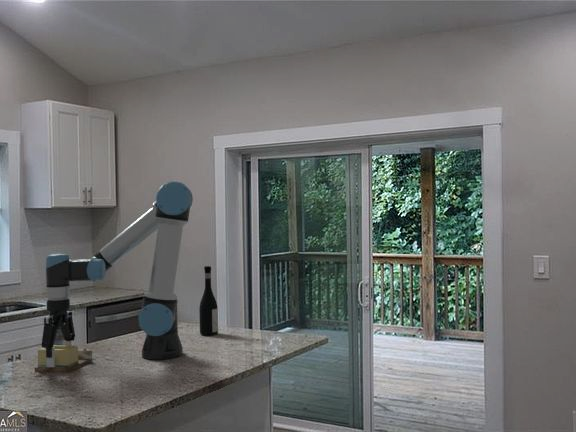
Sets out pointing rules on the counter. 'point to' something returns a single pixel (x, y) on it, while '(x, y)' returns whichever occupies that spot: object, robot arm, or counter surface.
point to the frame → (60, 356)
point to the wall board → (83, 359)
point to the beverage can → (59, 337)
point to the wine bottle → (208, 308)
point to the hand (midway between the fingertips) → (59, 363)
